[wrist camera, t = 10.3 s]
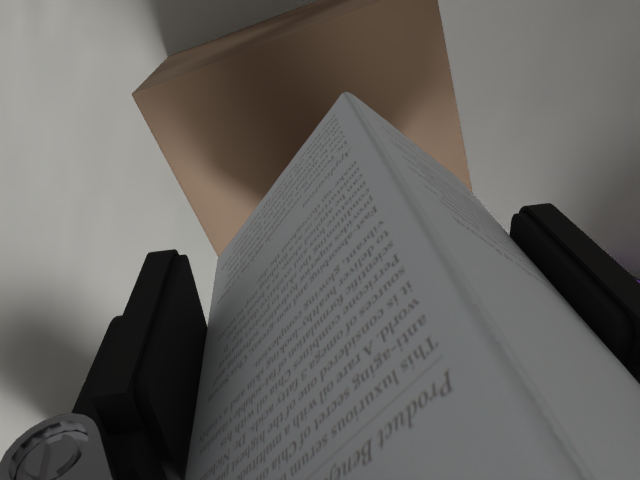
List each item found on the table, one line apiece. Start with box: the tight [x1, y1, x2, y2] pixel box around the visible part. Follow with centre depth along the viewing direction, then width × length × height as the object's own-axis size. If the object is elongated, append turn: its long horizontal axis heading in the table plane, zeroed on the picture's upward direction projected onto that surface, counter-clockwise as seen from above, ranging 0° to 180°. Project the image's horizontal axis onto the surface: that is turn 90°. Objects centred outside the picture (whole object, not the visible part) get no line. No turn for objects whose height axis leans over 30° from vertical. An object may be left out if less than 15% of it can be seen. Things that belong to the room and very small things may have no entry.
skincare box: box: [185, 92, 640, 480], centre depth 9 cm, size 6×4×12 cm
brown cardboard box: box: [132, 0, 473, 257], centre depth 18 cm, size 9×9×6 cm
